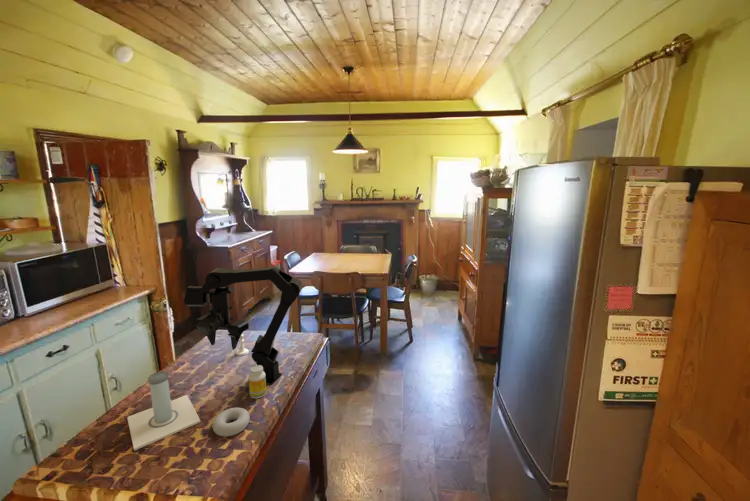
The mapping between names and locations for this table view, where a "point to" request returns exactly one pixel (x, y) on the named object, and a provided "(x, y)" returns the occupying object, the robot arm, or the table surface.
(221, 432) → the donut
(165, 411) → the tube
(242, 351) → the chess piece
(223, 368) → the table surface
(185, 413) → the card
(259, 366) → the supplement bottle
